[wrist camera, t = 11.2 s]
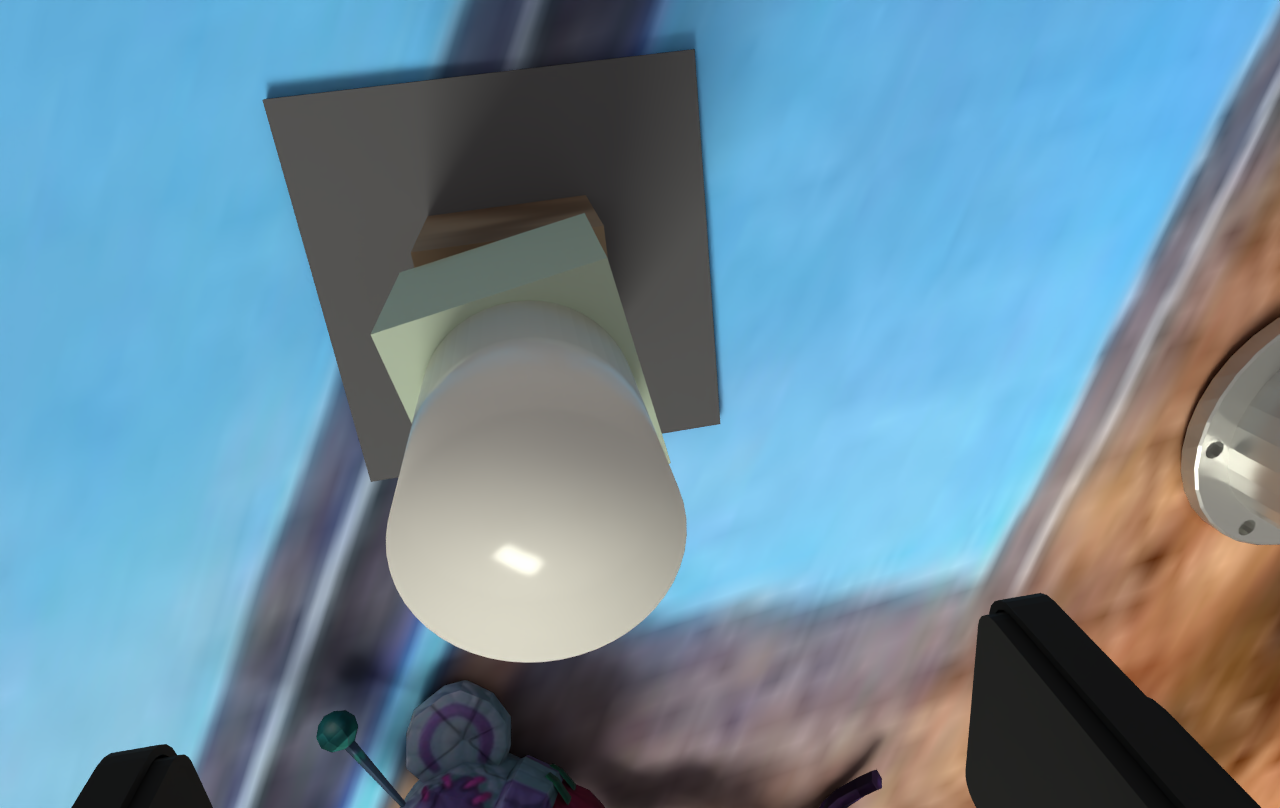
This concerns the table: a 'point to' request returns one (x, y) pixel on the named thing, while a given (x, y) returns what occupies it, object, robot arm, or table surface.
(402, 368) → the block top
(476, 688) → the toy
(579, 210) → the block bottom
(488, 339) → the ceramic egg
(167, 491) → the table surface
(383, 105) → the mat
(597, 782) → the table surface
